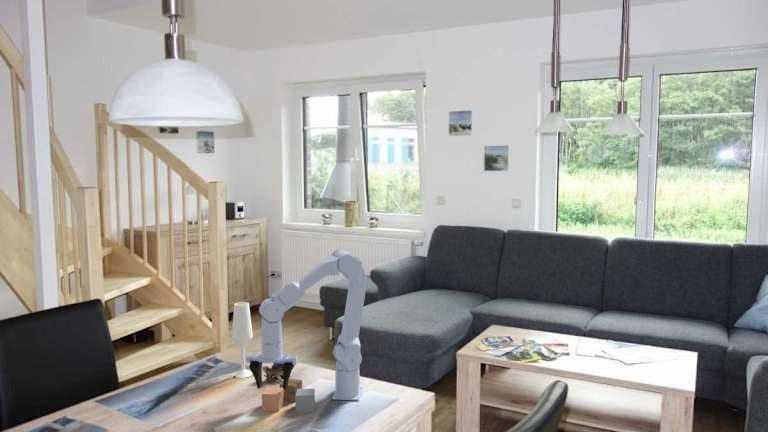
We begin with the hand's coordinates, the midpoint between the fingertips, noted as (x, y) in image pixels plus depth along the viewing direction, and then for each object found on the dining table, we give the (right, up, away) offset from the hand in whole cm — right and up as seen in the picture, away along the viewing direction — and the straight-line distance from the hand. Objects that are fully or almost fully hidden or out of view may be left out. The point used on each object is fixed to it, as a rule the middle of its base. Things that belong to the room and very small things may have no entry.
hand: (272, 387), depth 171 cm
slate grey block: (+10, -6, 0) cm, 11 cm away
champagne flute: (-14, -4, +26) cm, 30 cm away
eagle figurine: (-2, -4, +22) cm, 22 cm away
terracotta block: (0, -6, +1) cm, 6 cm away
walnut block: (+4, -5, +7) cm, 10 cm away
